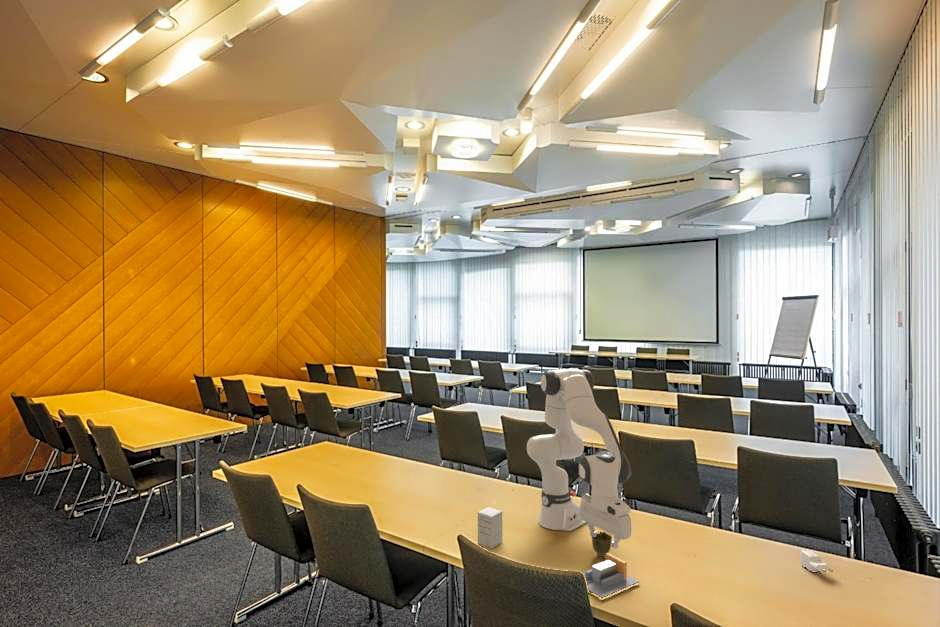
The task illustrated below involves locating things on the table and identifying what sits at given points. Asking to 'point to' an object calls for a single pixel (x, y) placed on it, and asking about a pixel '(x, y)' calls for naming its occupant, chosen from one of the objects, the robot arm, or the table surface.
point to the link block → (603, 571)
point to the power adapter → (813, 561)
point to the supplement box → (489, 527)
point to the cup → (602, 544)
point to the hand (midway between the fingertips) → (603, 541)
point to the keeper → (611, 579)
